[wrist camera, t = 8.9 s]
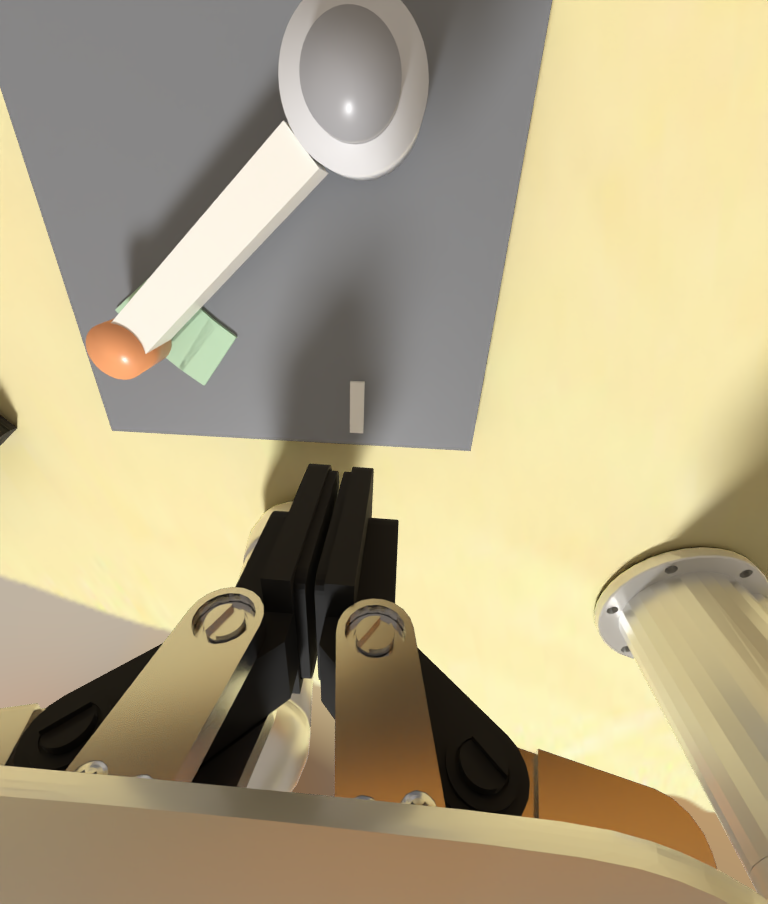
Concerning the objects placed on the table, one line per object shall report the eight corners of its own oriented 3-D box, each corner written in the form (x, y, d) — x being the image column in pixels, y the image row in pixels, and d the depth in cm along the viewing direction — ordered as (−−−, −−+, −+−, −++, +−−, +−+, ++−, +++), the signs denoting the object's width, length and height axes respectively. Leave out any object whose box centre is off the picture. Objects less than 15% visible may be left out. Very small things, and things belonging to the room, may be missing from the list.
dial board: (543, -3, 16) (557, -24, 15) (466, 438, 26) (471, 452, 25) (-12, -34, 16) (-51, -58, 15) (126, 419, 26) (110, 432, 25)
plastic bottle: (278, 563, 33) (145, 957, 15) (244, 496, 29) (28, 902, 12) (356, 551, 32) (308, 955, 15) (331, 480, 28) (229, 895, 11)
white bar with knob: (447, 118, 17) (462, 90, 13) (178, 382, 23) (133, 418, 19) (368, -17, 15) (358, -98, 11) (99, 310, 21) (30, 333, 17)
